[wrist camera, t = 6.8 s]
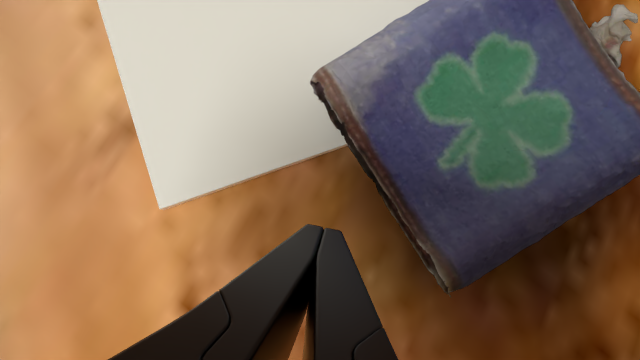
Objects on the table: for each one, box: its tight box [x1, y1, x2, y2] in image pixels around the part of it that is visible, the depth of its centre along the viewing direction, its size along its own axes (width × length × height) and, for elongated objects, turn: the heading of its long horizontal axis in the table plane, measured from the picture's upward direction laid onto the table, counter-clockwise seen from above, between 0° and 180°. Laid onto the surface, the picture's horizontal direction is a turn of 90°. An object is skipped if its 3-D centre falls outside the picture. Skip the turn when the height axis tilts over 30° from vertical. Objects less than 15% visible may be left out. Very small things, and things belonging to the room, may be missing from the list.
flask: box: [310, 0, 640, 297], centre depth 18 cm, size 10×3×12 cm
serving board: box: [97, 0, 429, 210], centre depth 20 cm, size 13×18×1 cm
